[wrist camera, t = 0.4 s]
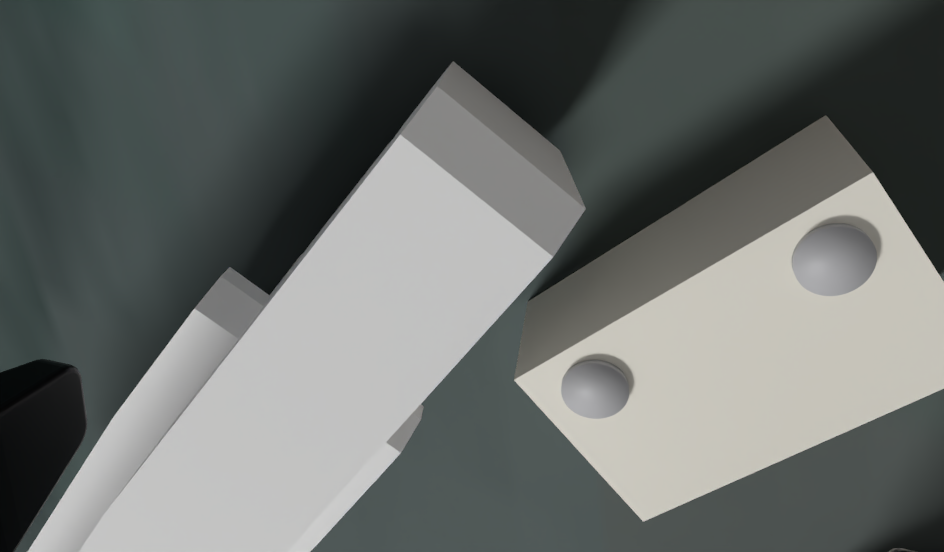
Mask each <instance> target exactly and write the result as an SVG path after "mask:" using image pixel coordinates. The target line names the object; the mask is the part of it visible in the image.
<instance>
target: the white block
mask: <svg viewBox="0 0 944 552" xmlns="http://www.w3.org/2000/svg"><path fill="white" fill-rule="evenodd" d="M514 380H515V382H516V383H517V384H518V385H519V386H520V387H521V388H522V389H523V390H524V391H525V392H526V394H527V395H528V396H529V397H530V398H531V399H532V400H533V401H534V402H535V403H536V405H537V406H538V407H539V408H540V409H541V410H542V411H543V412H544V413H545V414H546V415H547V417H548V418H549V419H550V420H551V421H552V422H553V423H554V424H555V425H556V426H557V428H558V429H559V430H560V431H561V432H562V433H563V434H564V435H565V436H566V437H567V439H568V440H569V441H570V442H571V443H572V444H573V445H574V446H575V447H576V448H577V449H578V451H579V452H580V453H581V454H582V455H583V456H584V457H585V458H586V459H587V460H588V462H589V463H590V464H591V465H592V466H593V467H594V468H595V469H596V470H597V471H598V472H599V474H600V475H601V476H602V477H603V478H604V479H605V480H606V481H607V482H608V483H609V485H610V486H611V487H612V488H613V489H614V490H615V491H616V492H617V493H618V494H619V496H620V497H621V498H622V499H623V500H624V501H625V502H626V503H627V504H628V505H629V506H630V508H631V509H632V510H633V511H634V512H635V513H636V514H637V515H638V516H639V517H640V519H641V520H642V521H646V520H648V519H650V518H652V517H655V516H657V515H659V514H662V513H664V512H666V511H668V510H671V509H673V508H675V507H677V506H680V505H682V504H684V503H686V502H689V501H691V500H693V499H695V498H698V497H700V496H702V495H704V494H707V493H709V492H711V491H713V490H716V489H718V488H720V487H722V486H725V485H727V484H729V483H731V482H734V481H736V480H738V479H741V478H743V477H745V476H747V475H750V474H752V473H754V472H756V471H759V470H761V469H763V468H765V467H768V466H770V465H772V464H774V463H777V462H779V461H781V460H783V459H786V458H788V457H790V456H792V455H795V454H797V453H799V452H801V451H804V450H806V449H808V448H811V447H813V446H815V445H817V444H820V443H822V442H824V441H826V440H829V439H831V438H833V437H835V436H838V435H840V434H842V433H844V432H847V431H849V430H851V429H853V428H856V427H858V426H860V425H862V424H865V423H867V422H869V421H871V420H874V419H876V418H878V417H880V416H883V415H885V414H887V413H890V412H892V411H894V410H896V409H899V408H901V407H903V406H905V405H908V404H910V403H912V402H914V401H917V400H919V399H921V398H923V397H926V396H928V395H930V394H932V393H935V392H937V391H939V390H941V389H944V282H943V280H942V278H941V277H940V275H939V274H938V272H937V271H936V269H935V268H934V266H933V264H932V263H931V261H930V260H929V258H928V257H927V255H926V254H925V252H924V250H923V249H922V247H921V246H920V244H919V243H918V241H917V240H916V238H915V237H914V235H913V233H912V232H911V230H910V229H909V227H908V226H907V224H906V223H905V221H904V219H903V218H902V216H901V215H900V213H899V212H898V210H897V209H896V207H895V205H894V204H893V202H892V201H891V199H890V198H889V196H888V195H887V193H886V192H885V190H884V188H883V187H882V185H881V184H880V182H879V181H878V179H877V178H876V176H875V174H874V173H873V172H872V170H871V169H870V168H869V167H868V165H867V164H866V163H865V162H864V161H863V159H862V158H861V157H860V156H859V155H858V153H857V152H856V151H855V150H854V148H853V147H852V146H851V145H850V144H849V142H848V141H847V140H846V139H845V138H844V136H843V135H842V134H841V133H840V131H839V130H838V129H837V128H836V127H835V125H834V124H833V123H832V122H831V120H830V119H829V118H828V117H827V116H826V115H825V116H824V117H822V118H820V119H819V120H817V121H816V122H814V123H812V124H811V125H809V126H808V127H806V128H804V129H803V130H801V131H800V132H798V133H796V134H795V135H793V136H792V137H790V138H788V139H787V140H785V141H784V142H782V143H780V144H779V145H777V146H776V147H774V148H772V149H771V150H769V151H768V152H766V153H764V154H763V155H761V156H760V157H758V158H756V159H755V160H753V161H752V162H750V163H748V164H747V165H745V166H744V167H742V168H740V169H739V170H737V171H736V172H734V173H732V174H731V175H729V176H728V177H726V178H724V179H723V180H721V181H720V182H718V183H717V184H715V185H713V186H712V187H710V188H709V189H707V190H705V191H704V192H702V193H701V194H699V195H697V196H696V197H694V198H693V199H691V200H689V201H688V202H686V203H685V204H683V205H681V206H680V207H678V208H677V209H675V210H673V211H672V212H670V213H669V214H667V215H665V216H664V217H662V218H661V219H659V220H657V221H656V222H654V223H653V224H651V225H649V226H648V227H646V228H645V229H643V230H641V231H640V232H638V233H637V234H635V235H633V236H632V237H630V238H629V239H627V240H625V241H624V242H622V243H621V244H619V245H617V246H616V247H614V248H613V249H611V250H609V251H608V252H606V253H605V254H603V255H601V256H600V257H598V258H597V259H595V260H593V261H592V262H590V263H589V264H587V265H585V266H584V267H582V268H581V269H579V270H577V271H576V272H574V273H573V274H571V275H569V276H568V277H566V278H565V279H563V280H562V281H560V282H558V283H557V284H555V285H554V286H552V287H550V288H549V289H547V290H546V291H544V292H542V293H541V294H539V295H538V296H536V297H534V298H533V299H531V300H530V301H528V303H527V309H526V314H525V320H524V326H523V331H522V337H521V343H520V349H519V354H518V360H517V366H516V372H515V377H514Z"/></svg>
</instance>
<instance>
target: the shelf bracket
mask: <svg viewBox="0 0 944 552" xmlns="http://www.w3.org/2000/svg"><path fill="white" fill-rule="evenodd" d="M585 209H586V208H585V206H584V203H583V201H582V199H581V197H580V194H579V192H578V190H577V188H576V185H575V183H574V181H573V179H572V176H571V174H570V172H569V170H568V167H567V165H566V163H565V161H564V159H563V156H562V154H561V152H560V150H559V149H557V148H556V147H555V146H554V145H553V144H551V143H550V142H549V141H548V140H547V139H545V138H544V137H543V136H542V135H541V134H540V133H538V132H537V131H536V130H535V129H534V128H532V127H531V126H530V125H529V124H528V123H526V122H525V121H524V120H523V119H522V118H520V117H519V116H518V115H517V114H516V113H514V112H513V111H512V110H511V109H510V108H509V107H507V106H506V105H505V104H504V103H503V102H501V101H500V100H499V99H498V98H497V97H495V96H494V95H493V94H492V93H491V92H489V91H488V90H487V89H486V88H485V87H484V86H482V85H481V84H480V83H479V82H478V81H476V80H475V79H474V78H473V77H472V76H470V75H469V74H468V73H467V72H466V71H464V70H463V69H462V68H461V67H460V66H458V65H457V64H456V63H455V62H454V61H453V62H452V63H451V64H450V65H449V67H448V68H447V69H446V70H445V72H444V73H443V74H442V76H441V77H440V78H439V79H438V81H437V82H436V83H435V84H434V86H433V87H432V88H431V90H430V91H429V92H428V93H427V95H426V96H425V97H424V99H423V100H422V101H421V102H420V104H419V105H418V106H417V108H416V109H415V110H414V111H413V113H412V114H411V115H410V117H409V118H408V119H407V120H406V122H405V123H404V124H403V126H402V127H401V129H400V130H399V131H398V133H397V134H396V135H395V137H394V138H393V139H392V141H391V142H390V143H389V144H388V145H387V146H386V147H385V149H384V150H383V151H382V153H381V154H380V155H379V156H378V158H377V159H376V160H375V162H374V163H373V164H372V165H371V167H370V168H369V169H368V171H367V172H366V173H365V174H364V176H363V177H362V178H361V180H360V181H359V182H358V183H357V185H356V186H355V187H354V189H353V190H352V191H351V192H350V194H349V195H348V196H347V197H346V199H345V200H344V201H343V202H342V204H341V205H340V206H339V208H338V209H337V210H336V211H335V213H334V214H333V215H332V216H331V218H330V219H329V220H328V221H327V223H326V224H325V225H324V226H323V228H322V229H321V230H320V232H319V233H318V234H317V236H316V237H315V238H314V239H313V241H312V242H311V243H310V245H309V246H308V247H307V249H306V250H305V252H304V253H303V254H301V256H300V257H299V258H298V259H297V261H296V262H295V263H294V264H293V266H292V267H291V268H290V270H289V271H288V272H287V273H286V275H285V276H284V277H283V279H282V280H281V281H280V282H279V284H278V285H277V286H276V288H275V289H274V290H273V291H272V293H271V294H270V295H268V294H267V293H266V292H264V291H263V290H261V289H260V288H259V287H257V286H256V285H254V284H253V283H252V282H250V281H249V280H247V279H246V278H245V277H243V276H242V275H241V274H239V273H238V272H236V271H235V270H234V269H232V268H231V267H229V268H228V269H227V270H226V271H225V272H224V273H223V274H222V275H221V276H220V278H219V279H218V280H217V281H216V283H215V284H214V285H213V286H212V287H211V289H210V290H209V291H208V292H207V294H206V295H205V296H204V297H203V298H202V300H201V301H200V302H199V303H198V305H197V306H196V307H195V308H194V310H193V311H192V312H191V314H190V315H189V316H188V318H187V319H186V320H185V322H184V323H183V324H182V326H181V327H180V328H179V330H178V331H177V332H176V334H175V335H174V336H173V338H172V339H171V340H170V342H169V343H168V344H167V346H166V347H165V349H164V350H163V351H162V353H161V354H160V355H159V357H158V358H157V359H156V361H155V362H154V363H153V365H152V366H151V367H150V369H149V370H148V371H147V373H146V374H145V375H144V377H143V378H142V379H141V381H140V382H139V383H138V385H137V386H136V387H135V389H134V390H133V391H132V393H131V394H130V395H129V397H128V398H127V400H126V401H125V402H124V404H123V405H122V406H121V408H120V409H119V410H118V412H117V413H116V414H115V416H114V417H113V418H112V420H111V422H110V423H109V425H108V426H107V428H106V429H105V431H104V433H103V434H102V436H101V437H100V439H99V440H98V442H97V444H96V445H95V447H94V448H93V450H92V451H91V453H90V455H89V456H88V458H87V459H86V461H85V462H84V464H83V466H82V467H81V469H80V470H79V472H78V473H77V475H76V477H75V478H74V480H73V481H72V483H71V484H70V486H69V488H68V489H67V491H66V492H65V494H64V495H63V497H62V499H61V500H60V502H59V503H58V505H57V506H56V508H55V510H54V511H53V513H52V514H51V516H50V517H49V519H48V521H47V522H46V524H45V525H44V527H43V528H42V530H41V532H40V533H39V535H38V536H37V538H36V539H35V541H34V543H33V544H32V546H31V547H30V549H29V550H28V552H310V551H311V550H312V549H313V548H314V547H315V546H316V545H317V544H318V543H319V542H320V541H321V540H322V539H323V537H324V536H325V535H326V534H327V533H328V532H329V531H330V530H331V529H332V528H333V527H334V525H335V524H336V523H337V522H338V521H339V520H340V519H341V518H342V517H343V516H344V515H345V513H346V512H347V511H348V510H349V509H350V508H351V507H352V506H353V505H354V504H355V503H356V501H357V500H358V499H359V498H360V497H361V496H362V495H363V494H364V493H365V492H366V491H367V489H368V488H369V487H370V486H371V485H372V484H373V483H374V482H375V481H376V480H377V478H378V477H379V476H380V475H381V474H382V473H383V472H384V471H385V470H386V469H387V468H388V466H389V465H390V464H391V463H392V462H393V461H394V460H395V459H396V458H397V457H398V456H399V454H400V453H401V452H402V450H403V449H404V447H405V445H406V444H407V442H408V440H409V439H410V437H411V435H412V434H413V432H414V430H415V429H416V427H417V425H418V423H419V422H420V420H421V417H422V411H423V406H422V405H421V403H422V402H423V401H424V400H425V399H426V398H427V396H428V395H429V394H430V393H431V392H432V391H433V390H434V389H435V388H436V386H437V385H438V384H439V383H440V382H441V381H442V380H443V379H444V378H445V376H446V375H447V374H448V373H449V372H450V371H451V370H452V369H453V368H454V366H455V365H456V364H457V363H458V362H459V361H460V360H461V359H462V358H463V356H464V355H465V354H466V353H467V352H468V351H469V350H470V349H471V348H472V347H473V345H474V344H475V343H476V342H477V341H478V340H479V339H480V338H481V337H482V335H483V334H484V333H485V332H486V331H487V330H488V329H489V328H490V327H491V325H492V324H493V323H494V322H495V321H496V320H497V319H498V318H499V317H500V315H501V314H502V313H503V312H504V311H505V310H506V309H507V308H508V307H509V305H510V304H511V303H512V302H513V301H514V300H515V299H516V298H517V297H518V296H519V294H520V293H521V292H522V291H523V290H524V289H525V288H526V287H527V286H528V284H529V283H530V282H531V281H532V280H533V279H534V278H535V277H536V276H537V274H538V273H539V272H540V271H541V270H542V269H543V268H544V267H545V266H546V264H547V263H548V262H549V261H550V260H551V259H552V258H553V257H554V255H555V254H556V252H557V251H558V249H559V248H560V246H561V245H562V243H563V242H564V240H565V239H566V237H567V236H568V234H569V233H570V231H571V230H572V229H573V227H574V226H575V224H576V223H577V221H578V220H579V218H580V217H581V215H582V214H583V212H584V211H585Z"/></svg>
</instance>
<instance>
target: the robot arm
mask: <svg viewBox="0 0 944 552" xmlns="http://www.w3.org/2000/svg"><path fill="white" fill-rule="evenodd" d="M86 430H87V415H86V408H85V400H84V393H83V386H82V378H81V374H80V372H79V371H78V369H77V368H76V367H74V366H72V365H70V364H65V363H60V362H56V361H51V360H45V359H40V360H35V361H32V362H29V363H26V364H24V365H21V366H18V367H15V368H12V369H9V370H6V371H4V372H1V373H0V552H14V551H15V550H16V548H17V547H18V545H19V544H20V542H21V541H22V539H23V537H24V536H25V534H26V533H27V531H28V529H29V528H30V526H31V525H32V523H33V521H34V520H35V518H36V516H37V515H38V513H39V512H40V510H41V508H42V507H43V505H44V504H45V502H46V500H47V499H48V497H49V496H50V494H51V492H52V491H53V489H54V487H55V486H56V484H57V483H58V481H59V479H60V478H61V476H62V475H63V473H64V471H65V470H66V468H67V466H68V465H69V463H70V462H71V460H72V458H73V457H74V455H75V454H76V452H77V450H78V449H79V447H80V445H81V444H82V442H83V439H84V437H85V434H86ZM889 552H916V551H911V550H907V549H902V548H894V549H892V550H890V551H889Z"/></svg>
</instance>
